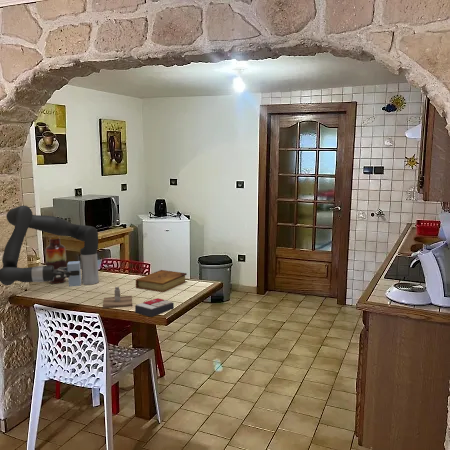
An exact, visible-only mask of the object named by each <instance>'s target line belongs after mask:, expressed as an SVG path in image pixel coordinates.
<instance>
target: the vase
mask: <svg viewBox="0 0 450 450" xmlns="http://www.w3.org/2000/svg"><path fill="white" fill-rule="evenodd" d="M48 240H49V245H47V246H46V247H45V250H44V252H45V263H46V265H45V266H50V265H52V266H54V269H58V268H59V267H67V264H68V262H67V250H66V246H65V245H63V244H61V237H59V236H53V237H49V239H48ZM66 281H67V280H66V278H61V279H56V277H54V281H49V284H52V285H58V284H62V283H65V282H66Z"/></svg>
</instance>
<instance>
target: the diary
mask: <svg viewBox="0 0 450 450" xmlns="http://www.w3.org/2000/svg"><path fill="white" fill-rule="evenodd" d="M187 273H188V272H181V271H180V272H179V271H174V270H173V271H172V270H165V269H164V270H163V269H159V270H158V271H155V272H152V273H150V274H146V275H144V276H142V277H138V278H137V279H135V289H141V290H147V291H152V292H159V293H165V292H168V291H170V290H171V289H173V288H174V289H175V288H176V287H179V286H181V285H183V284H186V283H188V281H187V280H186V276H187V275H188V274H187Z"/></svg>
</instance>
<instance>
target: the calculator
mask: <svg viewBox="0 0 450 450" xmlns="http://www.w3.org/2000/svg"><path fill="white" fill-rule="evenodd" d="M174 307H175V306H174V302H173V301H171V300H164V299H163V298H159V297H158V298H154V299H151V300H147V301H144V302H141V303H137V304H135V310H134V312H135V314H139V315H142V316H146V317H150V318H152V317H155V316H158V315H159V314H162V313H165V312H168V311H170V309H171V310H173V309H174Z"/></svg>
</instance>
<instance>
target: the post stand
mask: <svg viewBox="0 0 450 450" xmlns="http://www.w3.org/2000/svg"><path fill="white" fill-rule="evenodd" d="M102 302H103V303H102V309H112V308H113V309H115V308H127V307H133V296H132V295H123V296H121V289H120V286H115V288H114V296H110V297H104V298H103V301H102Z"/></svg>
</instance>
